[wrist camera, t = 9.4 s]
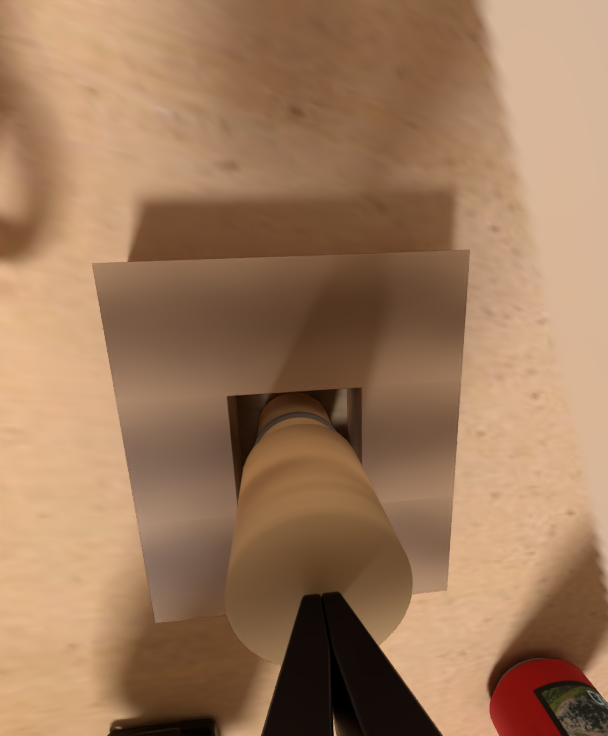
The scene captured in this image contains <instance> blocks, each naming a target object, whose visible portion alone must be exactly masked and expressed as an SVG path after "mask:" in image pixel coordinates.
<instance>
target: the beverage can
mask: <svg viewBox="0 0 608 736" xmlns="http://www.w3.org/2000/svg"><path fill="white" fill-rule="evenodd" d="M490 716H491V719H492V722H493V724H494V726H495V728H496V730H497V732H498V734H499V736H608V703H607V702H606V701H605V699H604V698H603V697H602V696H601V695H600V693H599V692H598V691H597V690H596V688H595V687H594V686H593V685H592V683H591V682H590V681H589V680H588V679H587V677H586V676H585V675H584V674H583V672H582V671H581V670H580V669H579V668H578V667H576V666H575V665H573V664H572V663H569V662H567V661H564V660H559V659H546V658H532V659H528V660H525V661H522V662H520V663H517V664H516V665H514V666H512V667H511V668H510V669H509V670H507V671H506V672H505V673H504V674H503V676H502V677H501V678H500V680H499V682H498V684H497V687H496V689H495V691H494V693H493V695H492V698H491V701H490Z"/></svg>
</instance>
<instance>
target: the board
mask: <svg viewBox="0 0 608 736" xmlns="http://www.w3.org/2000/svg"><path fill="white" fill-rule="evenodd" d="M469 255H470V250H449V251H421V252H393V253H365V254H337V255H309V256H282V257H254V258H226V259H198V260H170V261H142V262H114V263H92V266H93V272H94V278H95V284H96V289H97V295H98V301H99V306H100V312H101V318H102V323H103V329H104V335H105V340H106V346H107V352H108V357H109V363H110V369H111V375H112V380H113V386H114V392H115V397H116V403H117V409H118V414H119V420H120V426H121V431H122V437H123V443H124V448H125V454H126V460H127V466H128V471H129V477H130V483H131V488H132V494H133V500H134V505H135V511H136V517H137V522H138V528H139V534H140V540H141V545H142V551H143V557H144V562H145V568H146V574H147V579H148V585H149V591H150V596H151V602H152V608H153V613H154V619H155V623H162V622H171V621H179V620H188V619H197V618H206V617H215V616H224V615H226V610H225V599H224V595H225V587H226V580H227V574H228V567H229V560H230V553H231V547H232V540H233V533H234V527H235V520H236V513H237V507H238V500H239V493H240V487H241V480H242V473H243V466H242V455H241V444H240V433H239V422H238V411H237V400H236V395H250V394H266V393H281V392H296V391H311V390H327V389H342V388H347V428H348V442H349V444H350V445H351V446H352V448H353V449H354V451H355V453H356V455H357V457H358V459H359V461H360V463H361V465H362V467H363V469H364V471H365V473H366V475H367V477H368V479H369V481H370V483H371V485H372V487H373V489H374V491H375V493H376V495H377V497H378V499H379V501H380V503H381V505H382V507H383V509H384V511H385V513H386V515H387V517H388V519H389V521H390V523H391V525H392V527H393V529H394V531H395V533H396V535H397V537H398V539H399V541H400V543H401V545H402V547H403V549H404V551H405V553H406V555H407V557H408V560H409V562H410V565H411V570H412V576H413V588H412V594H419V593H428V592H437V591H446V590H447V581H448V566H449V551H450V536H451V522H452V507H453V492H454V477H455V462H456V448H457V433H458V418H459V403H460V388H461V374H462V359H463V344H464V329H465V314H466V300H467V285H468V270H469Z"/></svg>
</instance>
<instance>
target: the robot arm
mask: <svg viewBox="0 0 608 736" xmlns="http://www.w3.org/2000/svg"><path fill="white" fill-rule="evenodd" d="M333 719H334V724H335V730H336V735H337V736H443V735H442V734H441V732H440V731H439V729H438V728H437V727H436V725H435V724H434V722H433V721H432V720H431V718H430V717H429V715H428V714H427V713H426V711H425V710H424V709H423V707H422V706H421V704H420V703H419V702H418V700H417V699H416V697H415V696H414V695H413V693H412V692H411V690H410V689H409V688H408V686H407V685H406V683H405V682H404V681H403V679H402V678H401V676H400V675H399V674H398V672H397V671H396V669H395V668H394V667H393V665H392V664H391V663H390V661H389V660H388V658H387V657H386V656H385V654H384V653H383V651H382V650H381V649H380V647H379V646H378V644H377V643H376V642H375V640H374V639H373V637H372V636H371V635H370V633H369V632H368V630H367V629H366V628H365V626H364V625H363V623H362V622H361V621H360V619H359V618H358V617H357V615H356V614H355V612H354V611H353V610H352V608H351V607H350V605H349V604H348V603H347V601H346V600H345V598H344V597H343V596H342V594H341V593H340V592H338V591H335V592H326V593H323V594H322V596H321V595H320V594H308V595H304V596H303V597H302V599H301V602H300V605H299V609H298V612H297V615H296V619H295V622H294V626H293V629H292V632H291V636H290V639H289V643H288V646H287V649H286V653H285V656H284V659H283V663H282V666H281V670H280V673H279V676H278V680H277V683H276V686H275V690H274V693H273V697H272V700H271V703H270V707H269V710H268V714H267V717H266V720H265V724H264V727H263V730H262V734H261V736H334V731H333ZM108 736H218V734H217V727H216V722H215V721H214V720H211V719H204V720H197V721H189V722H182V723H174V724H167V725H159V726H152V727H144V728H137V729H130V730H122V731H115V732H111V733H109V734H108Z"/></svg>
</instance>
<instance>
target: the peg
mask: <svg viewBox="0 0 608 736" xmlns="http://www.w3.org/2000/svg"><path fill="white" fill-rule="evenodd" d="M412 588H413V576H412V570H411V565H410V562H409V560H408V557H407V555H406V553H405V551H404V549H403V547H402V545H401V543H400V541H399V539H398V537H397V535H396V533H395V531H394V529H393V527H392V525H391V523H390V521H389V519H388V517H387V515H386V513H385V511H384V509H383V507H382V505H381V503H380V501H379V499H378V497H377V495H376V493H375V491H374V489H373V487H372V485H371V483H370V481H369V479H368V477H367V475H366V473H365V471H364V469H363V467H362V465H361V463H360V461H359V459H358V457H357V455H356V453H355V451H354V449H353V448H352V446H351V445H350V444H349V442H348V441H347V440H346V439H345V438H344V437H342V436H341V435H340V434H338V433H337V431H336V430H335V428H334V427H333V426H332V424H331V422H330V420H329V417H328V415H327V413H326V410H325V409H324V407H323V406H322V404H321V403H320V402H319V401H318V400H316V399H315V398H314V397H312V396H310V395H307V394H304V393H299V392H290V393H285V394H281V395H279V396H277V397H275V398H273V399H272V400H271V401H270V402H269V403H267V405H266V406H265V407H264V408H263V410H262V412H261V414H260V417H259V421H258V430H257V439H256V441H255V444H254V448H253V449H252V451H251V452H250V454H249V455H248V457H247V460H246V462H245V465H244V468H243V473H242V480H241V487H240V493H239V500H238V507H237V513H236V520H235V527H234V533H233V540H232V547H231V553H230V560H229V567H228V574H227V580H226V587H225V595H224V599H225V610H226V615H227V618H228V621H229V624H230V626H231V628H232V630H233V631H234V633H235V635H236V636H237V637H238V639H239V640H240V641H241V642H242V643H243V644H244V645H245V646H246V647H247V648H248V649H249V650H250V651H252V652H253V653H255V654H256V655H257V656H259V657H261V658H263V659H265V660H267V661H269V662H272V663H275V664H277V665H281V666H282V663H283V659H284V656H285V653H286V649H287V646H288V643H289V639H290V636H291V632H292V629H293V626H294V622H295V619H296V615H297V612H298V609H299V605H300V602H301V599H302V597H303V596H304V595H308V594H320V595H321V596H322V594H323V593H326V592H335V591H338V592H340V593H341V594H342V596H343V597H344V598H345V600H346V601H347V603H348V604H349V605H350V607H351V608H352V610H353V611H354V612H355V614H356V615H357V617H358V618H359V619H360V621H361V622H362V623H363V625H364V626H365V628H366V629H367V630H368V632H369V633H370V635H371V636H372V637H373V639H374V640H375V642H376V643H377V644H378V646H379V645H380V644H381V643H382V642H384V641H385V640H386V639H387V638H388V637H389V636H390V635H391V634H392V633H393V632H394V630H395V629H396V628H397V626H398V625H399V624H400V622H401V620H402V619H403V617H404V615H405V613H406V611H407V609H408V606H409V603H410V600H411V596H412Z"/></svg>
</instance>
